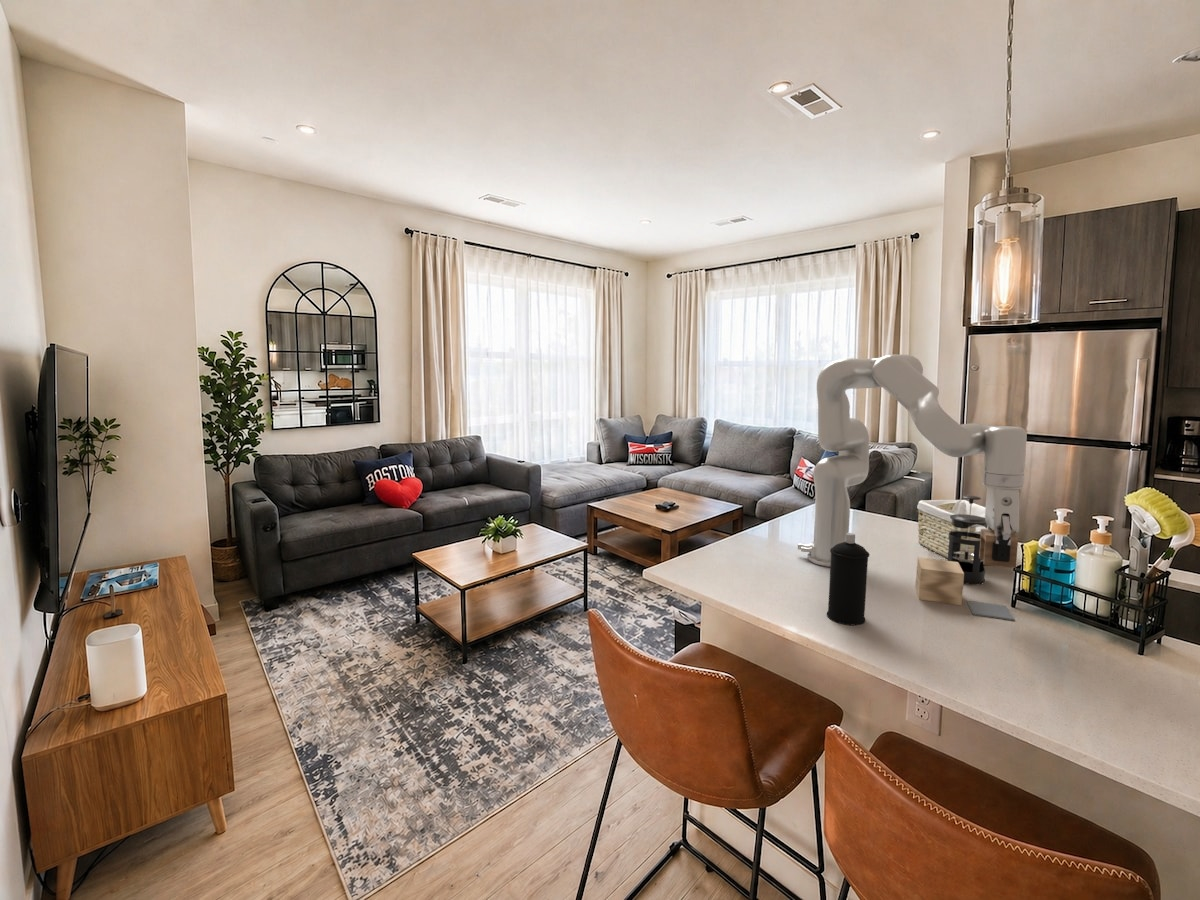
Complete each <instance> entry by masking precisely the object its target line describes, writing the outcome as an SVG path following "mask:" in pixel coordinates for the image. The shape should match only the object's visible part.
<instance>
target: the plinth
mask: <svg viewBox="0 0 1200 900" xmlns="http://www.w3.org/2000/svg"><path fill="white" fill-rule="evenodd" d="M963 582H964V572H963V571H962V569H961V567H960V565H959V563H958V562H953V561H948V560H944V559H943V560H942V559H934V558H927V557H919V556H917V560H916V576H915V591H916V594H917V597H918V600H922V601H929V602H935V603H936V602H937V603H941V604H942V603H943V604H950V605H957V606H962V602H963V592H964V583H963Z"/></svg>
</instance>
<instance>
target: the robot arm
mask: <svg viewBox="0 0 1200 900" xmlns="http://www.w3.org/2000/svg"><path fill="white" fill-rule="evenodd" d="M923 374H924V368H923V365H922V363H921V361H920V360H919V359H918V358H917V357H915V356H913V355H910V354H896V353H895V354H887V355H884V356H881V357H876V358H875V357H874V358H853V357H852V358H840V359H837V360H834V361H832V362H830V363H827V365H826V366H824V367H823V368H822V369H821V371H820V372H819V374H818V376H817V380H816V398H817V434H818V435H817V437H818V438H817V439H818V443H819V446H820V448H821V449H822V450H824V451H826V452H830V453H831V452H832V453H835V452H838V455H833V456H832V455H831V456H828V457H825V458H822V459H820V460H819V461H818V462H817V463H816V465H815V467H814V468H813V476H812V478H813V484H814V493H815V498H814V499H815V501H814V502H815V503H814V504H815V505H814V523H813V524H814V526H813V541H812V543H808V544H806V543H805V544H804V543H799V542H798V543H797V550H800V552H802V553H806V552H807V557H806V558H807V560H808V561H809V562H811V563H813V564H815V565H817V566H818V565H819V566H822V567H826V568H827V567H829V568H830V565H831V552H830V549H831V548H833V547H834V546H835V545H836V544H838V543H842V542H845V541H846V533H850V519H851V518H850V517H851V515H850V514H851V501H850V500H851V499H850V496H849V493H848V489H847V488H848V487H853V486H856V485H860V484H862V483H863V482H864V481H865V480H866V479H867V477H868V474H869V471H870V438H869V437H870V436H869V432H868V431H869V430H868V428H867V426H866V425H865V424H864V422H862V420H860V419H857V418H853V417H851V416H850V409H851V408H850V407H851V406H850V401H849V397H848V395H847V393H846V391H847V390H850V389H853V390H855V389H875V388H883V389H884V390H885V391H886V392H887V393H888V394H890V396H891V397H893V399H894V400H896V401H897V402H898V403H899V404H900V405H901V406H903V408H904V409H906V410H907V412H909V415H910V417H911V419H912V422H913V423H914V426H915V427H916V429H917V430H918V431H919V433H920V434H921V435H922V436H923V437H924V438H925V439H926V440H927V441H929V443H930V444H932V446H934V447H935V449H937V450H938V451H940V452H941V453H942V454H945V455H946V456H949V457H951V458H962V457H968V456H975V455H976V456H977V455H984V456H983V457H984V458H983V459H984V460H983V471H982V483H981V484H982V486H983V487H986V495H985V496H986V497H985V506H984V507H985V521H986V523H987V524H988V529H991V530H994V531H995V543H993V550H992V560H993V561H1001V562H1009V560H1010V547H1011V545H1010V544H1011V538H1010V535H1011V530H1012V531H1013V533H1014V534H1017V533H1018V532H1019V531H1020V492H1019V491H1020V490H1022V489H1023V488H1024V479H1025V478H1024V477H1025V465H1026V464H1025V462H1026V451H1027V450H1026V449H1027V441H1028V437H1027V435H1028V432H1027V431H1026V429H1025V428H1024V427H1020V426H1011V425H1010V426H1009V425H1008V426H1006V425H998V426H996V425H988V424H982V423H978V422H977V423H975V422H973V423H962V424H960V423H959V422H957V421H956V420H955V419H954V418H952V417H951V416H950V415H949V414H948V413H947V412H946V411H945V410H944V409H943V408H942V407H941V405H940V404H939V400H938V396H939V395H940V390H939V388H938V386H937V385H935V384H934V383H933V382H931V381H930V380H929V379H928V378H927V377H926V376H925V375H923ZM1010 529H1011V530H1010ZM999 533H1001V534H1002V535H1001V534H1000V536H999Z"/></svg>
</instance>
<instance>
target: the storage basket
mask: <svg viewBox="0 0 1200 900" xmlns="http://www.w3.org/2000/svg"><path fill="white" fill-rule="evenodd" d="M985 507H986V506H982V505H980V504H978V503H977V504H976V503H974V502H973V504H972V507H971V515H974V516H979V517H983V518H985ZM916 508H917V510H918V519H917V520H918V522H917V525H918V528H917V530H918V536H917V537H918V538H917V539H918V542H917V543H918V544H920V545H921V546H923V547H926V548H927V549H930V550H931V551H933V552H935V553H937V554H939V555H940V556H942V557H944V558H946V559H948V550H949V539H948V536H949V533H950V532H951V530H958V531H964V532H968V528H958V527H955V526H953V525H952V524H951V523H952V519H951V518H950V516H951V515H955V514H965V515H969V512H970V503H969V500H967V499H934V500H933V499H929V500H927V499H926V500H923V499H921V500H919V501H918V503H917V507H916ZM947 510H950V511H947ZM981 529H988V525H987V528H985V527H984V526H982V525H978V524H976V525H972V526H970V530H969V532H972V533H977V534H981ZM1010 530H1011V529H1010ZM1011 531H1012V530H1011ZM1012 532H1013V531H1012ZM1013 533H1014V532H1013ZM961 539H965V540H967V536H961ZM969 540H972V541H980V539H978V538H973V537H969ZM966 546H967V545H965V544H961V545H960V551H966ZM968 552H972V553H974V546H973V545H968Z"/></svg>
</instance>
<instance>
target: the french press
mask: <svg viewBox="0 0 1200 900" xmlns="http://www.w3.org/2000/svg"><path fill="white" fill-rule="evenodd" d="M961 497H962V498H963V499H965V500H968V501H969V503H970V512H969V515H965V514H955V515H951V516H950V518H951V519H952V523H951V524H952V525H953V526H955V527H958V528H968V532H964V531H958V530H951V532H950V533H949V536H948V539H949V550H948V558H947V561H953V562H958V563H959V565H960V567H961V569H962V571H963V572H964V582H963V585H964V584H965V585H972V584H979V585H983V584H985V583H986V579H985V578H986V577H985V576H986V568H985V565H984V564H983V559H982V558H979V549H980V541H972V540H969V537H973V538H978V539H980V534H977V533H972V532H969V530H970V526H972V525H976V524H978V525H982V526H984V527H985V528H987V525H988V524H987V523H986V521H985V518H983V517H979V516H974V515H971V507H972V504H973V503H974V502H975V501H978V500H979V501H980V500H982V497H980V496H977V495H962V496H961ZM961 536H967V540H965V539H961ZM961 544H965V545H967V546H966V551H960V545H961ZM968 545H973V546H974V553H972V552H968ZM984 582H985V583H984ZM982 583H983V584H982Z"/></svg>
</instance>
